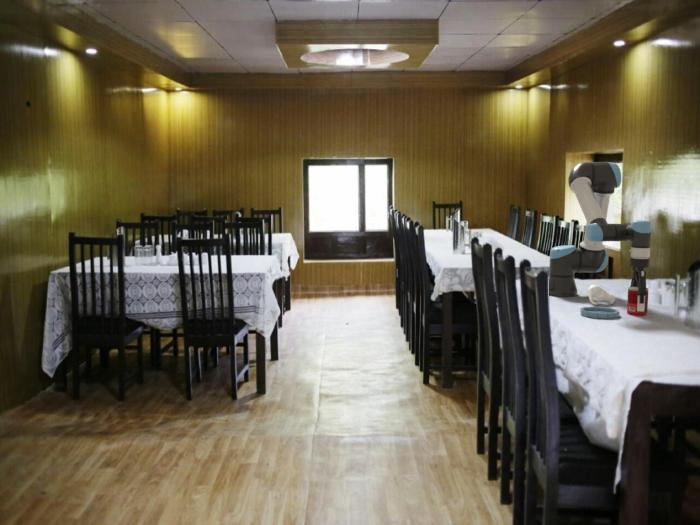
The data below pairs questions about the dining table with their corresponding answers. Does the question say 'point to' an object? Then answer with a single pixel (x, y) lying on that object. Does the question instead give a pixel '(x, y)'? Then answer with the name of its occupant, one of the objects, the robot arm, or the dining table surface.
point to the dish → (599, 312)
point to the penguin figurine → (599, 295)
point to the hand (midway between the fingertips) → (637, 308)
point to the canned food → (635, 302)
